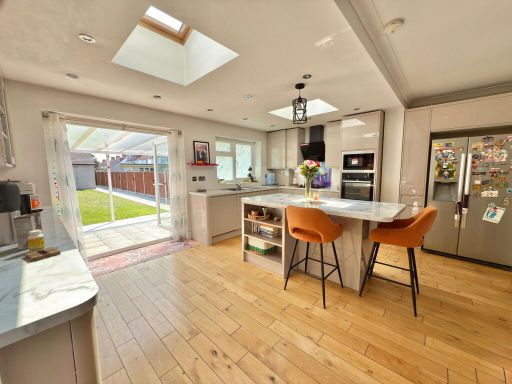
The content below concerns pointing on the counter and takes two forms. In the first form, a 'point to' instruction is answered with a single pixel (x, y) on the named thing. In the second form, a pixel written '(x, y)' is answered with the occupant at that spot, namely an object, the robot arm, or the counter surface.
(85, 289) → the counter surface
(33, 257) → the walnut trivet
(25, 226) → the coffee box
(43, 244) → the supplement bottle
